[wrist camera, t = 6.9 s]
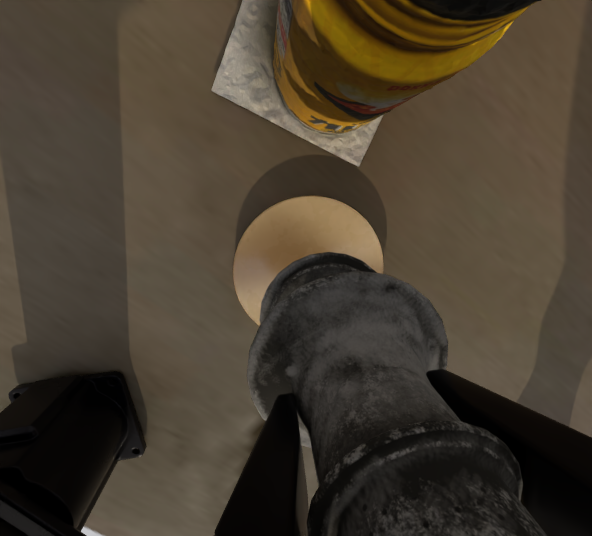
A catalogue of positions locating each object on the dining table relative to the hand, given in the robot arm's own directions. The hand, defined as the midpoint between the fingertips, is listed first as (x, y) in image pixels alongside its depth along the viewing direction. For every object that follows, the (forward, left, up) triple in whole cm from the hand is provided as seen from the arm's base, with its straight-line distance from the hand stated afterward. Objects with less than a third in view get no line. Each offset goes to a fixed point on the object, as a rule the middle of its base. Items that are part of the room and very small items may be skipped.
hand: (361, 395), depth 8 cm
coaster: (0, 0, -11) cm, 11 cm away
